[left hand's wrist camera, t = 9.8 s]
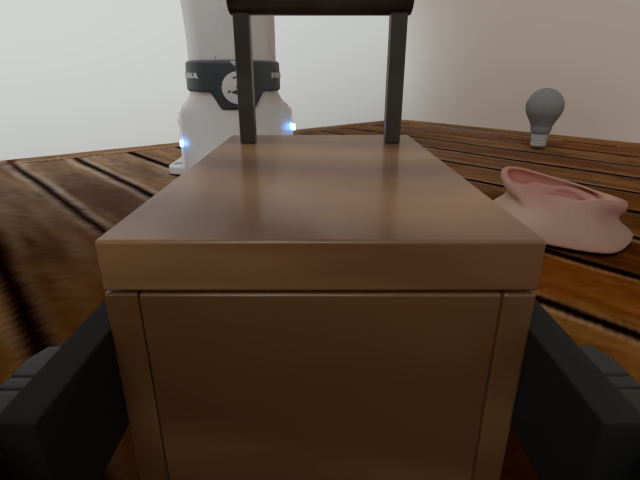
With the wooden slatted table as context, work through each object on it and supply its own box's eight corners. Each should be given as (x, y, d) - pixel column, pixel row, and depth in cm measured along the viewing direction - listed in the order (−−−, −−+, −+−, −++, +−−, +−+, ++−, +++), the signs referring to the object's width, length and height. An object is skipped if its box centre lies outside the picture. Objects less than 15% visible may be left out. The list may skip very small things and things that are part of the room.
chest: (241, 311, 27) (230, 161, 23) (398, 311, 27) (409, 161, 23) (157, 570, 13) (102, 294, 10) (483, 570, 13) (537, 293, 10)
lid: (233, 157, 24) (221, -21, 21) (406, 157, 24) (418, -21, 21) (102, 292, 10) (2, -217, 7) (538, 292, 10) (638, -217, 7)
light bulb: (526, 150, 77) (536, 88, 73) (514, 144, 82) (523, 87, 79) (562, 150, 76) (574, 89, 73) (548, 144, 82) (558, 87, 78)
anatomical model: (667, 209, 31) (493, 194, 35) (652, 261, 33) (487, 241, 37) (620, 170, 43) (494, 162, 47) (611, 210, 45) (488, 199, 48)
